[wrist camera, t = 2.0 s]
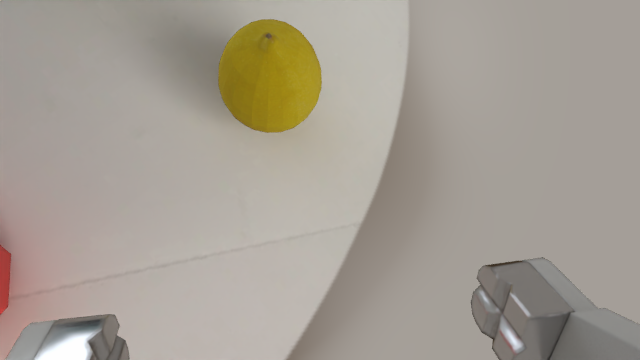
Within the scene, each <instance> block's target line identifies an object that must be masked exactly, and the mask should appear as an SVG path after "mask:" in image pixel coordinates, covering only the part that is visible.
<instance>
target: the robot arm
mask: <svg viewBox="0 0 640 360" xmlns="http://www.w3.org/2000/svg"><path fill="white" fill-rule="evenodd" d="M477 279H478V281H479V282H480V284H481V285H480V286H479V287H478V288H477V289H476V290H475V291H474V292H473V295H472V300H471V307H472V314H473V317H474V319H475V322H476V324H477V325H478V327H479V329H480V330H481V332H482V333H484V334H485V335H487V336H489V337H490V338H492V339H493V346H492V349H493V351H494V352H495V354H496V355H497V357H498V359H499V360H640V324H638V323H635V322H634V321H632V320H629V319H627V318H625V317H623V316H621V315H619V314H617V313H615V312H612V311H610V310H608V309H606V308H599V309H598V308H597V307H596V306H595V305H594V304H593V303H592V302H591V301H590V300H589V299H588V298H587V297H586V296H585V295H584V294H583V293H582V292H581V291H580V290H579V289H578V288H577V287H576V286H575V285H574V284H573V283H572V282H571V281H570V280H569V279H568V278H567V277H566V276H565V275H564V274H563V273H562V272H561V271H560V270H558V268H557V267H556V266H555V265H554V264H552V263H551V262H550V261H549V260H547V259H545V258H543V257H542V258H535V259H528V260H522V261H514V262H506V263H499V264H492V265H485V266H482V267H481V268H480V270H479V272H478V275H477ZM119 326H120V325H119V323H118V321H117V319H116V316H115V315H112V314H106V315H96V316H87V317H77V318H68V319H59V320H53V321H43V322H34V323H31V324H29V325H28V326H27V327H25V328H24V329H23V331H22V332H21V334H20V336H19V337H18V339H17V341H16V342H15V344H14V346H13V347H12V349H11V350H10V352H9V354H8V355H7V357H6V359H5V360H130V358H129V351H128V347H127V344H126V341H125V340H124V339H122V338H121V337H119V336H117V333H118V330H119Z"/></svg>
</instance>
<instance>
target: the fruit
mask: <svg viewBox="0 0 640 360" xmlns="http://www.w3.org/2000/svg"><path fill="white" fill-rule="evenodd" d="M218 82H219V89H220V92H221V95H222V98H223V101H224V103H225V105H226V106H227V108H228V109H229V110H230V112H231V113H232V114H233V116H234V117H235V118H236V119H237V120H239V121H240V122H242V123H243V124H244V125H246V126H248V127H250V128H252V129H254V130H258V131H262V132H267V133H269V132H282V131H285V130H288V129H291V128H294V127H295V126H297V125H298V124H299V123H301V122H302V121H304V120H305V119H306V118H307V117H308V115H309V114H310V113H311V111H312V110H313V108H314V107H315V105H316V103H317V101H318V98H319V94H320V91H321V83H322V81H321V68H320V64H319V61H318V59H317V56H316V54H315V51H314V49H313V47H312V45H311V44H310V43H309V41H308V40H307V39H306V38H305V37H304V35H303V34H302V33H301V32H300V31H299V30H297V29H296V28H294V27H293V26H291V25H289V24H287V23H285V22H282V21H278V20H274V19H270V20H258V21H255V22H251V23H249V24H248V25H246V26H244V27H243V28H241V29H240V30H239V31H237V32H236V33H235V35H234V36H233V37H232V38H231V39H230V40H229V42H228V43H227V45H226V47H225V49H224V52H223V54H222V57H221V59H220V63H219V77H218Z"/></svg>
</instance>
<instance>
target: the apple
mask: <svg viewBox="0 0 640 360" xmlns="http://www.w3.org/2000/svg"><path fill="white" fill-rule="evenodd" d="M10 263H11V254H10V253H9V252H8V251H7V250H5V249H4V248H3V247H2V246H1V245H0V314H1V313H2V312H3V311H4V310H5V309H6V308H7V307H8V297H9V280H10Z"/></svg>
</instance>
